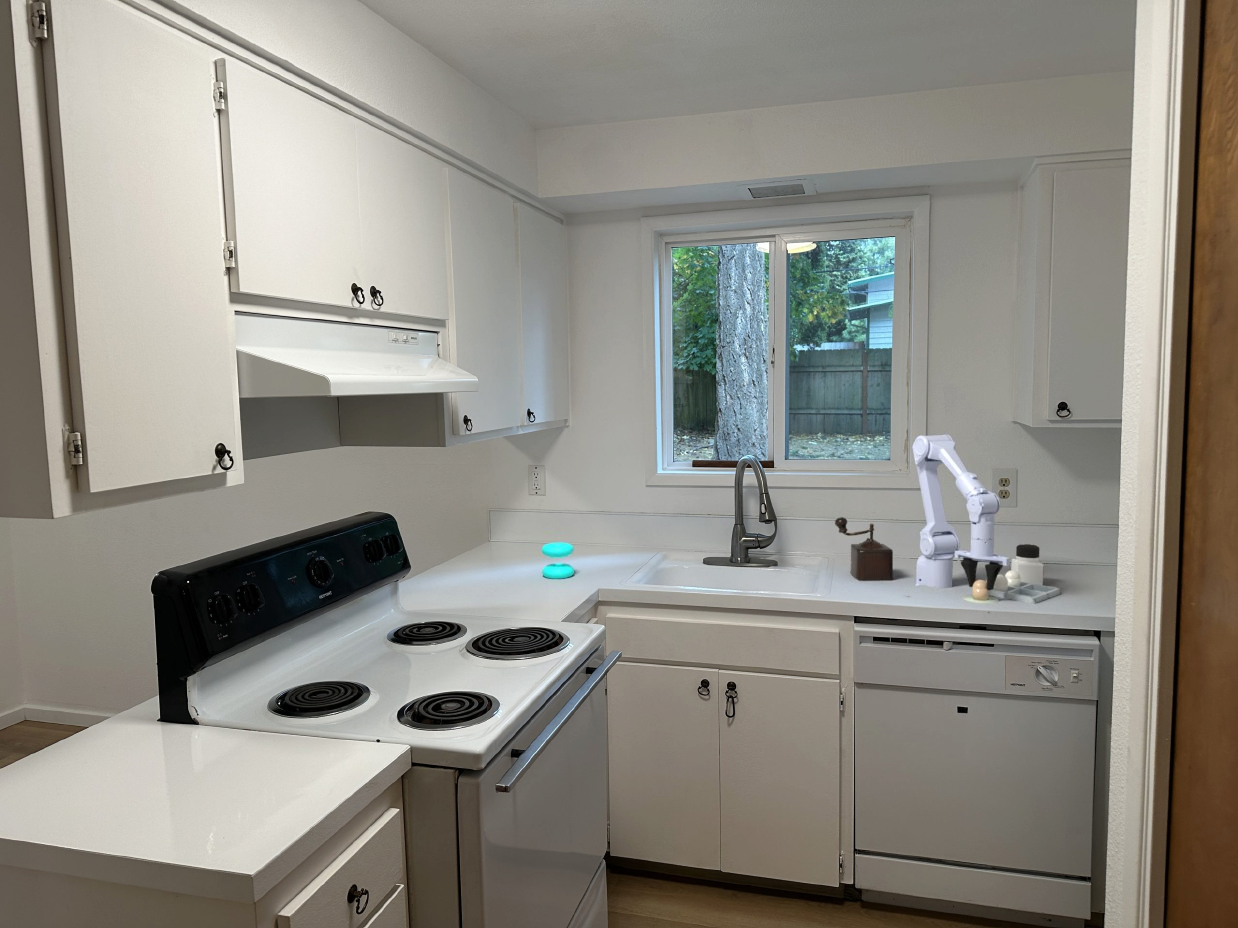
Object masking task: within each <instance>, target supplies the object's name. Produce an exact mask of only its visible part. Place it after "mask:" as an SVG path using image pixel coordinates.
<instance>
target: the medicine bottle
mask: <svg viewBox="0 0 1238 928" xmlns="http://www.w3.org/2000/svg"><path fill="white" fill-rule="evenodd" d="M1015 548H1016V550H1015V553H1016V554H1015V558H1012V559H1011V560H1010V567H1011V568H1010V569H1011V570H1014V571H1017V572H1018V573H1019V574H1020V577H1021V580H1020V582H1026V583H1032V584H1038V585H1044V576H1045V575H1044V574H1045V569H1044V566H1045V564H1044V563H1042V562H1041V561H1040V550H1041V549H1040V546H1038V545H1036V544H1033V543H1020V544H1017V546H1016V547H1015Z"/></svg>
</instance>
